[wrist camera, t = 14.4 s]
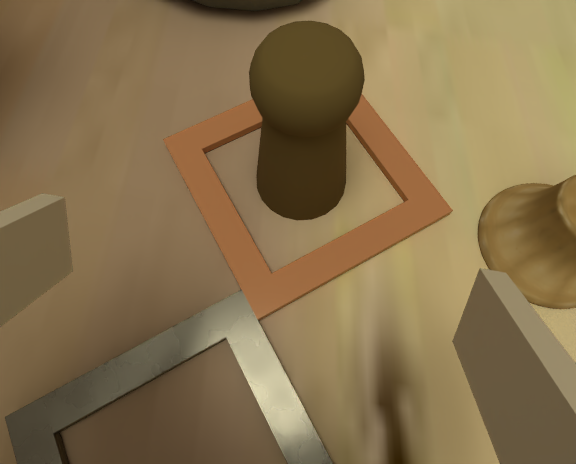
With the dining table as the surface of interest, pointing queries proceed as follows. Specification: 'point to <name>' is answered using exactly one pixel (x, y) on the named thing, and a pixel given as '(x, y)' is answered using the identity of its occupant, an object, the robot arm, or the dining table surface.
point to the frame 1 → (334, 255)
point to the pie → (247, 4)
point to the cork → (304, 116)
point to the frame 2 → (158, 360)
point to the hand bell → (534, 240)
